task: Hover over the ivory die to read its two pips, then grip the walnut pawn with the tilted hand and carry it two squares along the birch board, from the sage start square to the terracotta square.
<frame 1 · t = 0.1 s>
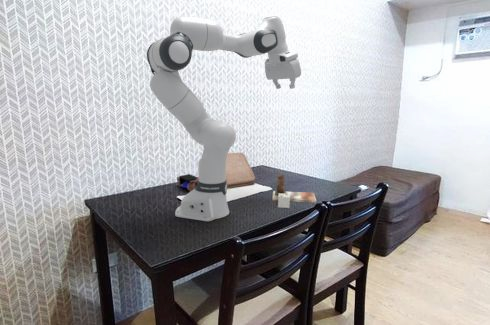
hand: (285, 88, 134), 52 cm above the table, tool tilted 20°, fingers open, 8 cm apart
board: (293, 197, 145), on the table
figurine character: (188, 189, 157), on the table
case: (232, 182, 170), on the table
die: (283, 205, 135), on the table
pawn: (280, 194, 146), point 1 cm above the table, touching board
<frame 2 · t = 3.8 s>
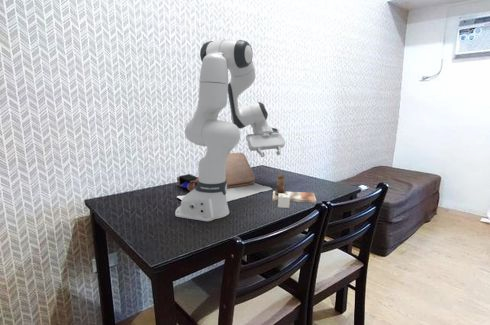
hand: (271, 155, 151), 19 cm above the table, tool tilted 45°, fingers open, 8 cm apart
nothing on the table moved.
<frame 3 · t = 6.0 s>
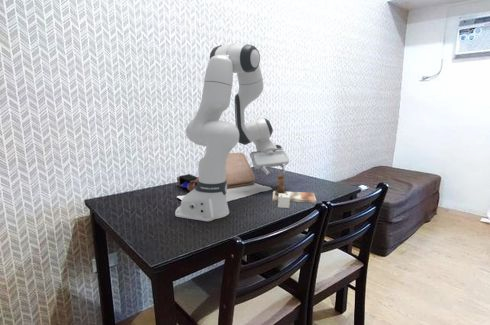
hand: (276, 173, 147), 11 cm above the table, tool tilted 45°, fingers open, 8 cm apart
nothing on the table moved.
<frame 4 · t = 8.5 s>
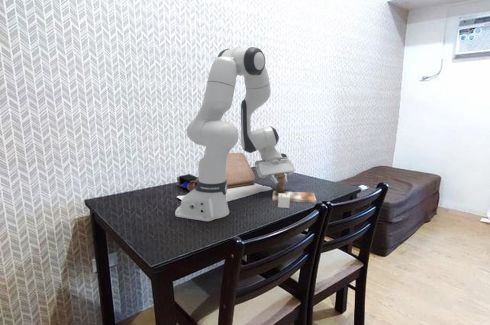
hand: (281, 182, 144), 7 cm above the table, tool tilted 45°, fingers closed on pawn, 4 cm apart
pawn: (280, 194, 146), point 1 cm above the table, touching board, gripper
everything else where it was.
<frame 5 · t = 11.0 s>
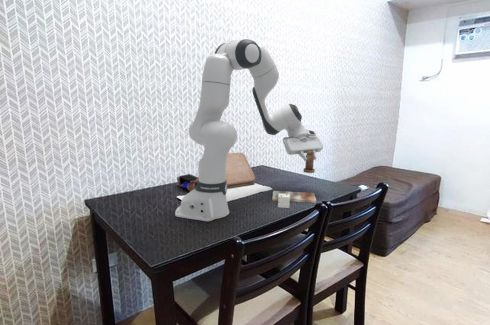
hand: (310, 159, 140), 19 cm above the table, tool tilted 45°, fingers closed on pawn, 4 cm apart
pawn: (308, 171, 142), point 13 cm above the table, touching gripper
everything else where it was.
when the fingers open (9 cm above the table, at t = 13.6 s): pawn drops 1 cm, resting on board.
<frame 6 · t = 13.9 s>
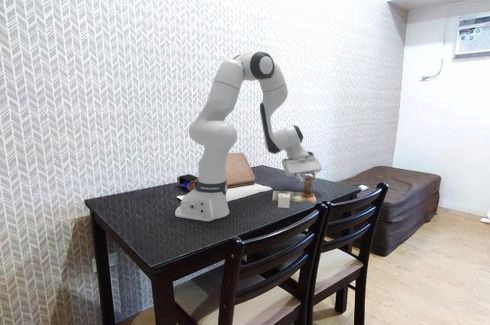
hand: (309, 181, 142), 9 cm above the table, tool tilted 45°, fingers open, 6 cm apart
pawn: (307, 195, 144), point 1 cm above the table, touching board
everything else where it was.
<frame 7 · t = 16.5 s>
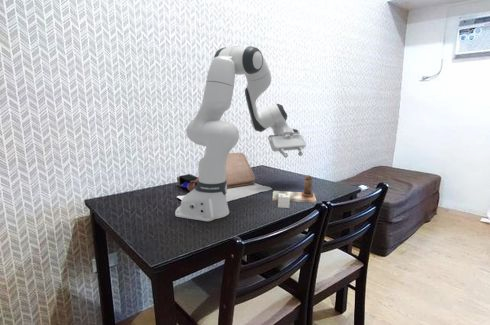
hand: (293, 156, 151), 19 cm above the table, tool tilted 45°, fingers open, 8 cm apart
nothing on the table moved.
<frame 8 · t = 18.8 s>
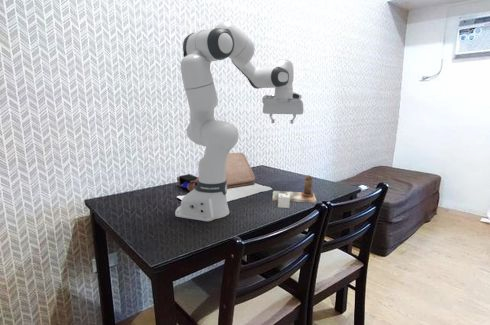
hand: (282, 123, 149), 35 cm above the table, tool pointing down, fingers open, 8 cm apart
nothing on the table moved.
at the end: pawn 0.1 cm from the target spot on the board, point 1.4 cm above the board's base; pawn tilted 0°; die moved 0.1 cm from its start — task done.
